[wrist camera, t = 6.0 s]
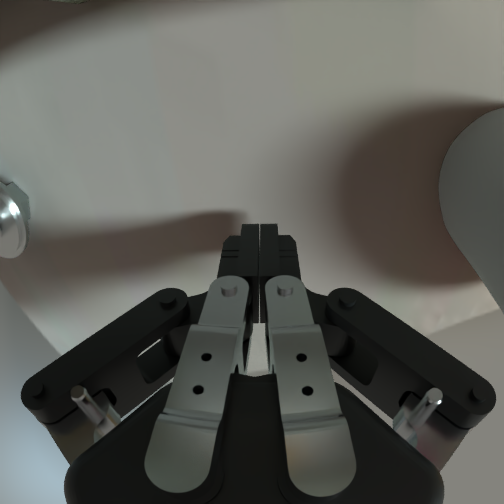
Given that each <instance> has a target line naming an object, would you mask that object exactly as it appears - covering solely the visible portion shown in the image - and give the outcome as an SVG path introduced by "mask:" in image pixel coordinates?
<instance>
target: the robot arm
mask: <svg viewBox="0 0 504 504" xmlns="http://www.w3.org/2000/svg"><path fill="white" fill-rule="evenodd" d="M259 284H260V323H265V342H266V352H267V363H268V373H269V374H267V375H262V376H257V377H252V376H247V375H246V374H247V367H248V360H249V354H250V347H251V335H252V332H253V323H259ZM159 339H161V340H160V341H159V342H158V343H156V344H155V345H154V346H152V347H151V348H150V349H148V350H147V351H146V352H144V353H143V354H142V355H140V356H139V357H138V355H139V354H140V353H141V352H142V351H144V350H145V349H147V348H148V347H149V346H151V345H152V344H153V343H155V342H156V341H157V340H159ZM331 369H333V370H334V371H335V372H336V373H337V374H339V375H340V376H341V377H342V378H343V379H344V380H346V381H347V382H348V383H349V384H350V385H352V386H353V387H354V388H355V389H356V390H358V391H359V392H360V393H361V394H362V395H364V396H365V397H366V398H367V399H368V400H370V401H371V402H372V403H373V404H374V405H376V406H377V407H378V408H379V409H381V410H382V411H383V412H384V413H385V414H387V415H388V416H389V417H390V418H392V419H393V429H392V428H391V427H390V426H389V425H388V424H387V423H386V422H384V421H383V420H382V419H381V418H380V417H379V416H378V415H377V414H375V413H374V412H373V411H372V410H371V409H370V408H369V407H368V406H367V405H365V404H364V403H363V402H362V401H361V400H360V399H359V398H358V397H357V396H355V395H354V394H353V393H352V392H351V391H350V390H348V389H347V388H345V387H344V386H342V385H340V384H338V383H336V382H334V379H333V375H332V371H331ZM173 377H174V379H173V382H172V383H170V384H168V385H166V386H165V387H163V388H162V389H160V390H159V391H158V392H156V393H155V394H154V395H153V396H152V397H150V398H149V399H148V400H147V401H146V402H145V403H143V404H142V405H141V406H140V407H139V408H137V409H136V410H135V411H134V412H133V413H131V414H130V415H129V416H128V417H127V418H125V419H124V420H123V421H122V422H121V418H122V417H123V416H124V415H126V414H127V413H128V412H130V411H131V410H132V409H134V408H135V407H136V406H138V405H139V404H140V403H141V402H143V401H144V400H145V399H146V398H148V397H149V396H150V395H152V394H153V393H154V392H155V391H157V390H158V389H159V388H160V387H162V386H163V385H164V384H165V383H167V382H168V381H169V380H170V379H172V378H173ZM21 400H22V402H23V404H24V406H25V407H26V408H27V409H28V410H29V411H30V412H31V413H32V414H33V415H34V416H35V417H36V418H37V420H38V421H39V422H40V423H41V424H42V425H43V426H44V427H46V428H47V429H48V431H49V433H50V434H51V436H52V438H53V439H54V441H55V443H56V444H57V446H58V447H59V449H60V451H61V452H62V454H63V455H64V457H65V458H66V460H67V461H68V463H69V464H70V467H69V469H68V471H67V473H66V476H65V481H64V493H65V498H66V502H67V504H443V499H444V484H443V480H442V477H441V475H440V473H439V472H440V471H441V470H442V468H443V467H444V466H445V464H446V463H447V462H448V460H449V459H450V457H451V456H452V455H453V453H454V451H455V450H456V449H457V448H458V446H459V445H460V443H461V442H462V440H463V439H464V437H465V435H467V434H468V433H469V432H470V431H471V430H472V429H473V428H474V427H475V426H476V425H477V424H478V423H479V422H480V421H481V420H482V419H483V418H484V417H485V416H486V415H487V414H488V413H489V412H490V411H491V410H492V409H493V408H494V406H495V403H496V394H495V391H494V388H493V387H492V385H491V384H490V383H489V382H488V381H487V380H485V379H484V378H482V377H481V376H480V375H478V374H477V373H476V372H474V371H473V370H471V369H470V368H468V367H467V366H466V365H465V364H463V363H462V362H460V361H459V360H457V359H456V358H455V357H453V356H452V355H450V354H449V353H447V352H446V351H445V350H443V349H442V348H440V347H439V346H438V345H436V344H435V343H433V342H432V341H430V340H429V339H428V338H426V337H425V336H423V335H422V334H420V333H419V332H417V331H416V330H415V329H413V328H412V327H410V326H409V325H407V324H406V323H404V322H403V321H402V320H400V319H399V318H397V317H396V316H394V315H393V314H391V313H390V312H388V311H387V310H385V309H384V308H382V307H381V306H380V305H378V304H377V303H375V302H374V301H372V300H371V299H369V298H368V297H366V296H365V295H363V294H362V293H360V292H359V291H357V290H354V289H351V288H338V289H335V290H333V291H332V292H330V294H329V295H328V296H325V295H320V294H316V293H314V292H311V291H310V290H308V289H307V288H306V287H305V286H304V284H303V282H302V281H301V275H300V268H299V261H298V254H297V247H296V242H295V240H294V239H293V238H292V237H291V236H290V235H278V226H277V224H260V242H259V224H242V228H241V236H229V237H228V238H227V239H226V240H225V242H224V243H223V248H222V254H221V259H220V264H219V270H218V275H217V279H216V280H214V281H213V282H212V283H211V285H210V287H209V290H208V291H207V292H205V293H203V294H199V295H195V296H191V297H187V294H186V293H185V292H184V291H182V290H180V289H177V288H166V289H162V290H160V291H158V292H156V293H155V294H153V295H152V296H150V297H149V298H147V299H146V300H144V301H143V302H141V303H140V304H138V305H137V306H135V307H134V308H132V309H131V310H129V311H128V312H126V313H125V314H123V315H122V316H120V317H119V318H117V319H116V320H114V321H113V322H111V323H110V324H108V325H107V326H105V327H104V328H102V329H101V330H99V331H98V332H96V333H95V334H93V335H92V336H90V337H89V338H87V339H86V340H84V341H83V342H81V343H80V344H79V345H77V346H76V347H74V348H73V349H71V350H70V351H68V352H67V353H65V354H64V355H62V356H61V357H59V358H58V359H57V360H55V361H54V362H52V363H51V364H49V365H48V366H47V367H45V368H43V369H42V370H41V371H39V372H38V373H36V374H35V375H33V376H32V377H31V378H29V379H28V380H27V381H26V382H25V384H24V386H23V388H22V391H21Z"/></svg>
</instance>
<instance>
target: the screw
mask: <svg viewBox="0 0 504 504" xmlns="http://www.w3.org/2000/svg"><path fill="white" fill-rule="evenodd" d="M29 219H30V212H29V200H28V196H27V195H26V194H25V193H24V192H22V191H21V190H20V189H19V188H18V187H17V186H16V185H15V184H14V183H13V182H12V183H10V184H8V185H7V186H6V185H5V184H3V183H1V182H0V257H4V258H15V257H17V256H19V255H20V254H21V253H22V252H23V251H24V249H25V248H26V247H27V244H28V240H29V228H28V222H27V221H28V220H29Z"/></svg>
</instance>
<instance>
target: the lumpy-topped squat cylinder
mask: <svg viewBox="0 0 504 504" xmlns="http://www.w3.org/2000/svg"><path fill="white" fill-rule="evenodd" d="M439 201H440V207H441V212H442V217H443V220H444V224H445V226H446V229H447V231H448V233H449V234H450V236H451V238H452V239H453V241H454V242H455V244H456V245H457V247H458V248H459V249H460V251H461V252H462V253H463V255H464V256H465V258H466V259H467V260H468V262H469V263H470V264H471V266H472V267H473V269H474V270H475V271H476V273H477V274H478V276H479V277H480V278H481V280H482V281H483V283H484V284H485V286H486V287H487V289H488V290H489V292H490V293H491V295H492V296H493V298H494V299H495V301H496V303H497V304H498V306H499V307H500V309H501V310H502V312H503V314H504V108H500V109H496V110H493V111H490V112H488V113H486V114H484V115H482V116H481V117H479V118H478V119H476V120H475V121H474V122H473V123H471V124H470V125H469V126H468V127H466V128H465V129H464V130H463V131H462V132H461V133H460V134H459V135H458V137H457V138H456V139H455V140H454V141H453V143H452V144H451V146H450V148H449V149H448V151H447V153H446V156H445V158H444V161H443V164H442V167H441V171H440V176H439Z"/></svg>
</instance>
